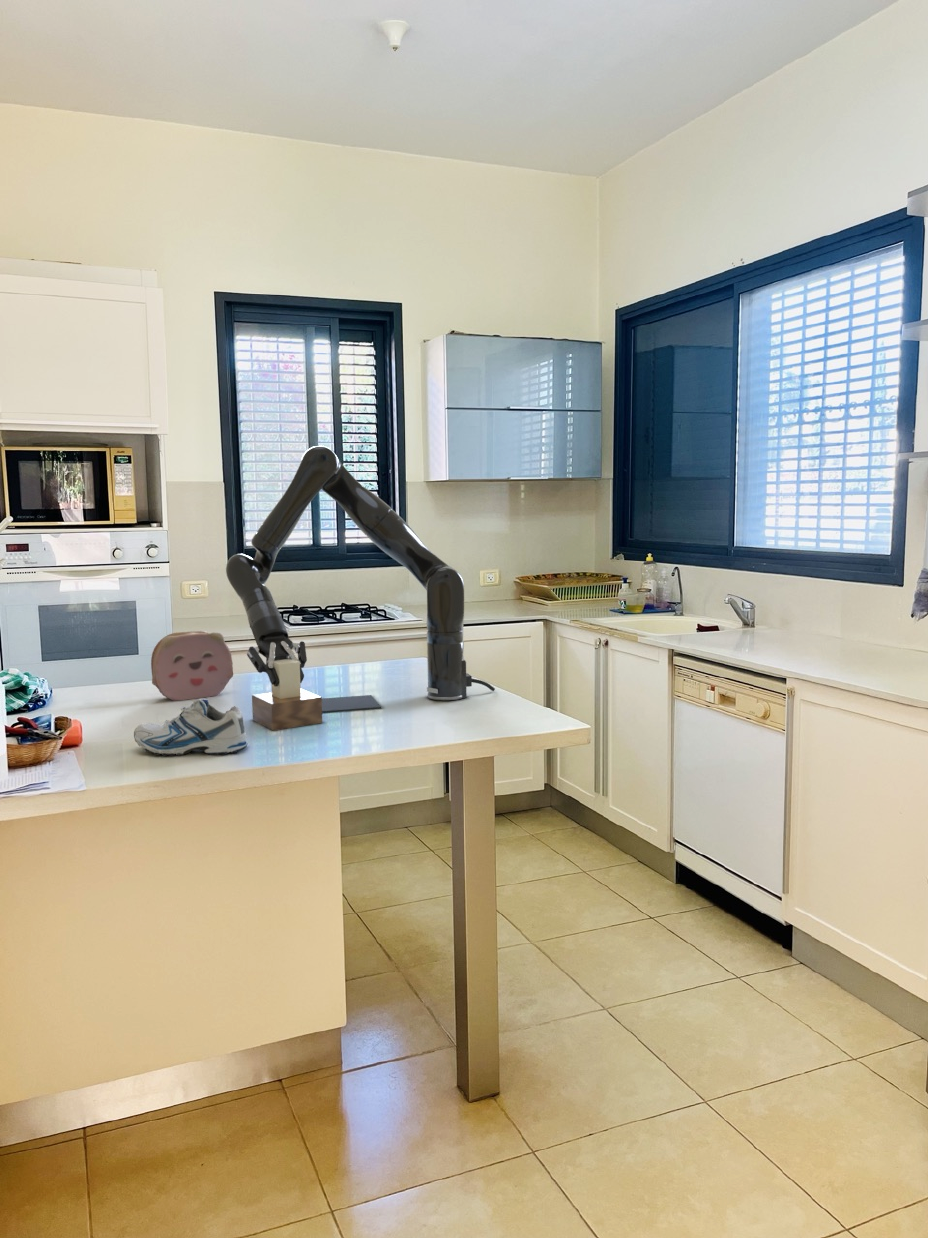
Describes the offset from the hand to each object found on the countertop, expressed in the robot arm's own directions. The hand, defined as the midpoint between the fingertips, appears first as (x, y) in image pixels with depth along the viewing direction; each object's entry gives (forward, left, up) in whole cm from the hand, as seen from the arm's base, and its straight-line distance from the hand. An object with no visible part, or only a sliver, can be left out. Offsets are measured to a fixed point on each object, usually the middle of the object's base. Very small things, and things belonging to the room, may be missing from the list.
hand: (289, 682), depth 211 cm
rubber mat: (-14, -15, -9) cm, 23 cm away
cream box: (+1, -2, -3) cm, 4 cm away
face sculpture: (+22, -37, -10) cm, 44 cm away
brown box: (+1, -2, -9) cm, 10 cm away
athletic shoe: (+22, +16, -10) cm, 29 cm away
